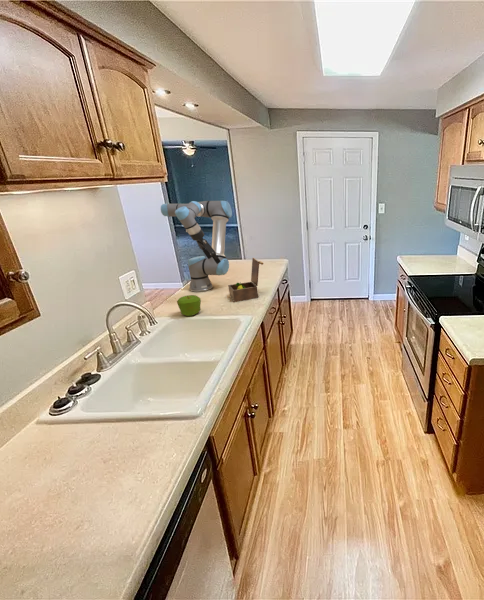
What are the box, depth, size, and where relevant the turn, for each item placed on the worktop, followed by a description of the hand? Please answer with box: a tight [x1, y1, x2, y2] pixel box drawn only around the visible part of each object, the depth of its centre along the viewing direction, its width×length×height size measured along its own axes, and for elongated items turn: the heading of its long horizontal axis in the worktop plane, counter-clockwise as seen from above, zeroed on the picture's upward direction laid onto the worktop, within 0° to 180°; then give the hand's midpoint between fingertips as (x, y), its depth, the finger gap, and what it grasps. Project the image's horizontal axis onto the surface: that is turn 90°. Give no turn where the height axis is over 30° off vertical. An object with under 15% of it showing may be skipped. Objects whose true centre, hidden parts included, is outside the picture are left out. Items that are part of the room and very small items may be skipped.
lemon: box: [235, 281, 245, 290], centre depth 219 cm, size 7×6×10 cm
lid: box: [250, 257, 264, 287], centre depth 221 cm, size 16×14×5 cm
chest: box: [227, 281, 259, 303], centre depth 220 cm, size 16×14×8 cm
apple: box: [176, 294, 202, 317], centre depth 192 cm, size 12×12×11 cm
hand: (214, 260), depth 211 cm, fingers open, 13 cm apart
